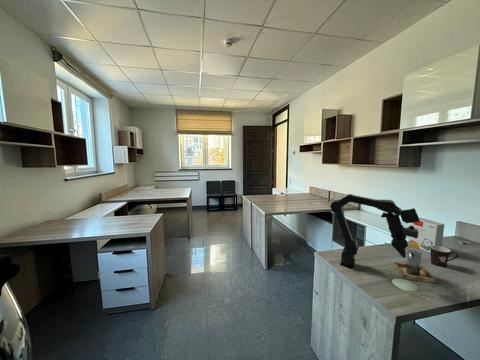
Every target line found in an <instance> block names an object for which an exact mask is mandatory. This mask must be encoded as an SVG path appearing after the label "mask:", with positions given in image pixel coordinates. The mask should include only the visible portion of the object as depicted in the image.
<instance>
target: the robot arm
mask: <svg viewBox="0 0 480 360" xmlns="http://www.w3.org/2000/svg"><path fill="white" fill-rule="evenodd" d="M349 203H354V204H359V205H363V206H366V207H367V206H369V207H372V208H376V209H378V210H379V211H381V212H382V211H383V213H382V214H381V216H380V218H385V219H386V223H387V225H388V230H389V233H390V237H391V238H392V239H391V240H390V241H391V246H392V248H394V249H395V251H396V252H397V253H398V254H399V255H400V256H401V258H402V259H403V258H405V259H406V258H407V257H406V249H407V247H409V242H408V240H407V237H414V238H418V233H419V232H418V230H417V229H415V228H414V226H411V225H409V226H408V227H404V224H403V223H405V224H411V223H415V222H420V221H419V215H418V213H417V211H416V210H417V209H416V208H414V207H413V208H410V209H409V208H407V209H401V207H399V206H397V204H396V203H395V201H393V200H391V199H375V198H369V197H364V196H360V195H355V194H352V193H350V194H347V195H345V196H344V197H342V198H340V199H335V200H333V201H332V202H331V203H330V209H331V211H332V212H333V214H334V215H335V217H336V219H337V222H338V224H339V227H340V229H341V233H342V235H343V238H344V247H343V249H342V251H341V257H340V259H341V260H340V263H339V265H341V266H343V267H346V268H348V269H353V267H355V266H356V258H355V256H356V255H357V253H358V250H359V247H360V244H358V239H357V238H356V239H354V238H353V236H352V233H351V231H350V227H349V225H348V221H347V219H346V216H345V208H344V206H346V205H348V204H349ZM402 222H403V223H402Z"/></svg>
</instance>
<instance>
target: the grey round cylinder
mask: <svg viewBox="0 0 480 360" xmlns="http://www.w3.org/2000/svg"><path fill="white" fill-rule="evenodd" d="M422 255H423V254H422V253H421V252H420V251H417V250H413V249H410V250H407V257H406V258H407V259H406V264H407V268H406V273H407V274H409V275H413V276H420V266H422V265H421V264H422V257H423V256H422Z"/></svg>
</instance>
